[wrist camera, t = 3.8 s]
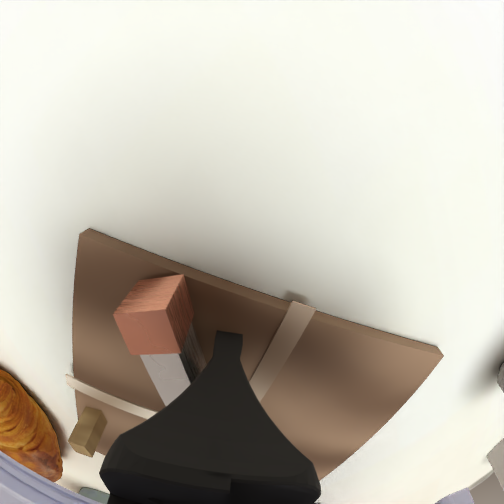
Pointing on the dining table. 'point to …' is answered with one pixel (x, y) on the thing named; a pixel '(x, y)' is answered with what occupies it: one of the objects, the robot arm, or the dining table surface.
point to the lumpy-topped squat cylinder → (498, 461)
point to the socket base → (252, 357)
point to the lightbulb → (501, 377)
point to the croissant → (27, 431)
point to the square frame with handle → (162, 333)
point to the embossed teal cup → (94, 495)
